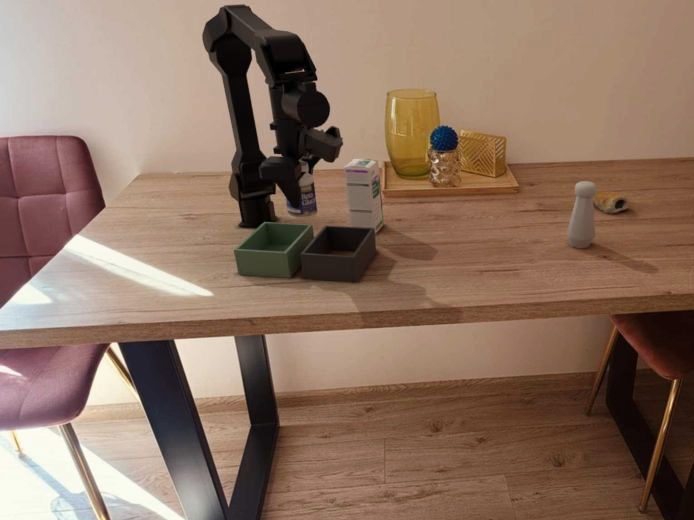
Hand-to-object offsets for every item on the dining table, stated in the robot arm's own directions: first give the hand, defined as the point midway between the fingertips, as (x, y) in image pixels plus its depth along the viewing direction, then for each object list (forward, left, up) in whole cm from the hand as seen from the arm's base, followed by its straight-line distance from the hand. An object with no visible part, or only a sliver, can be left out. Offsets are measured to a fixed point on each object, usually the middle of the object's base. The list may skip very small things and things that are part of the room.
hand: (301, 202), depth 119 cm
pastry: (+60, +39, -12) cm, 72 cm away
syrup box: (+7, +18, -12) cm, 23 cm away
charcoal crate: (+7, 0, -12) cm, 14 cm away
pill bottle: (0, 0, -3) cm, 3 cm away
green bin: (-6, 0, -12) cm, 14 cm away
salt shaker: (+53, +16, -12) cm, 57 cm away
